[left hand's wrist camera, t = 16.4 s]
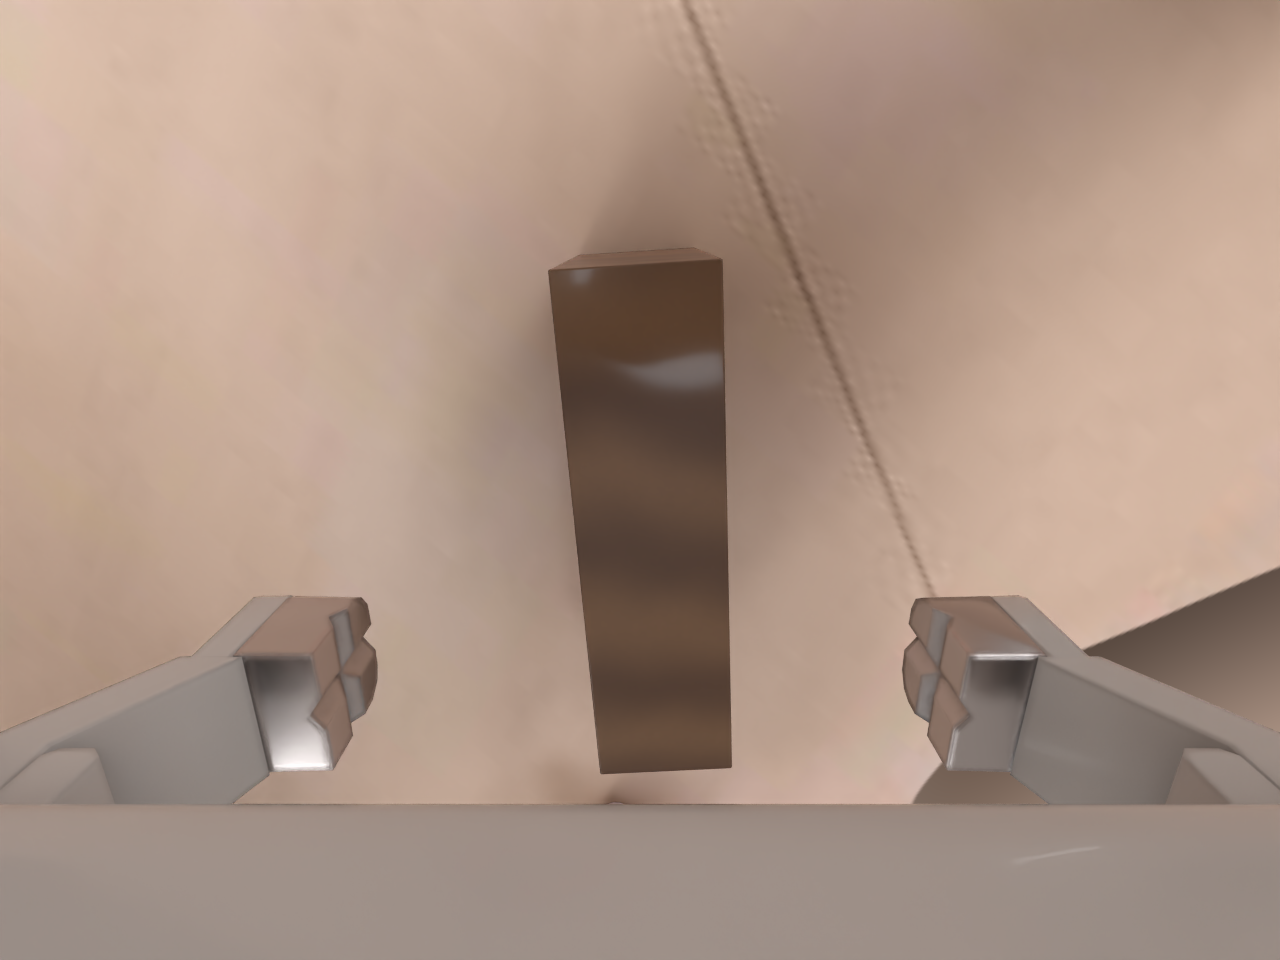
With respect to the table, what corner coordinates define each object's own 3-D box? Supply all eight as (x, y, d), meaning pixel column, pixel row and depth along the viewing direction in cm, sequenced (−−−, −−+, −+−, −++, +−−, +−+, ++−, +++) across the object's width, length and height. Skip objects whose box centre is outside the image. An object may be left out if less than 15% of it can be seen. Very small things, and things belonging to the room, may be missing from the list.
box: (578, 255, 35) (547, 269, 23) (695, 247, 35) (722, 258, 23) (611, 626, 42) (600, 774, 31) (707, 621, 42) (731, 768, 31)
